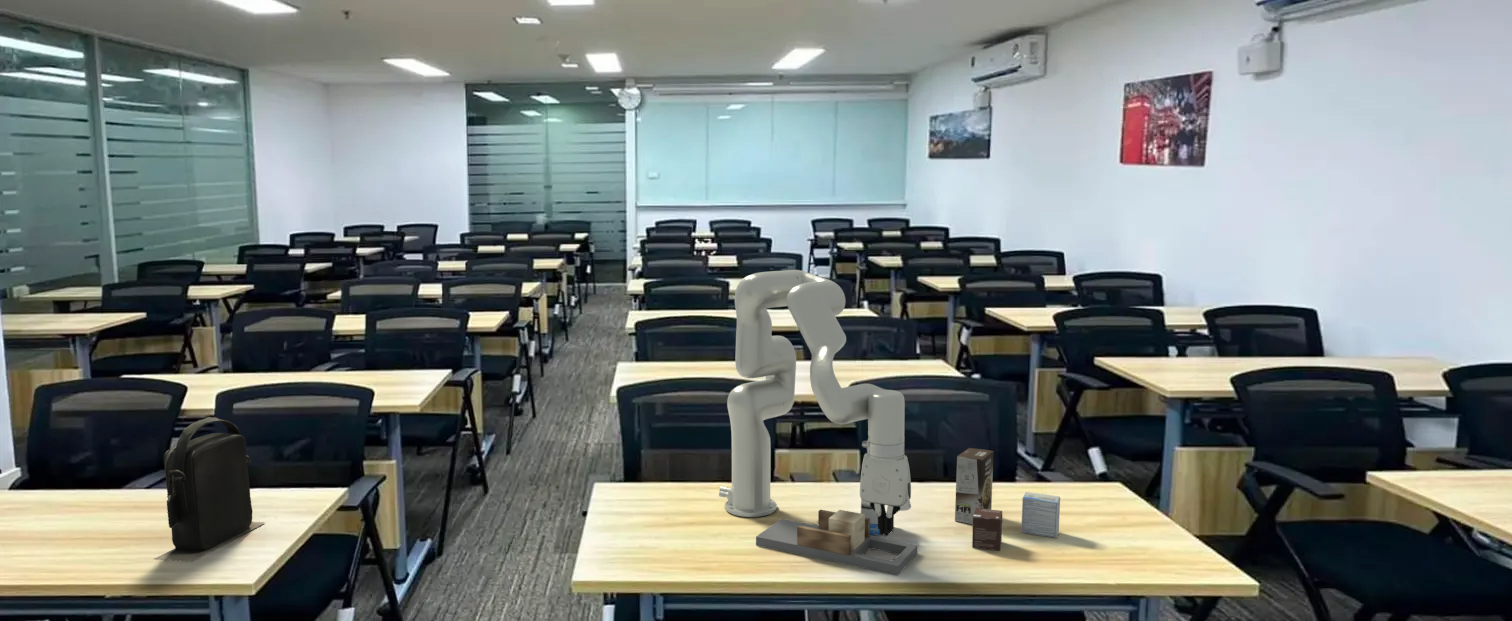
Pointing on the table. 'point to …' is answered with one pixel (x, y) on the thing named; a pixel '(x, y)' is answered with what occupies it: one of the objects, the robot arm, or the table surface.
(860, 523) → the maple block
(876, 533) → the ink box
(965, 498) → the coffee box
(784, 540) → the deck
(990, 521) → the box
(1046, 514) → the medicine box
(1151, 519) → the table surface
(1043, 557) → the table surface
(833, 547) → the tunnel walls
